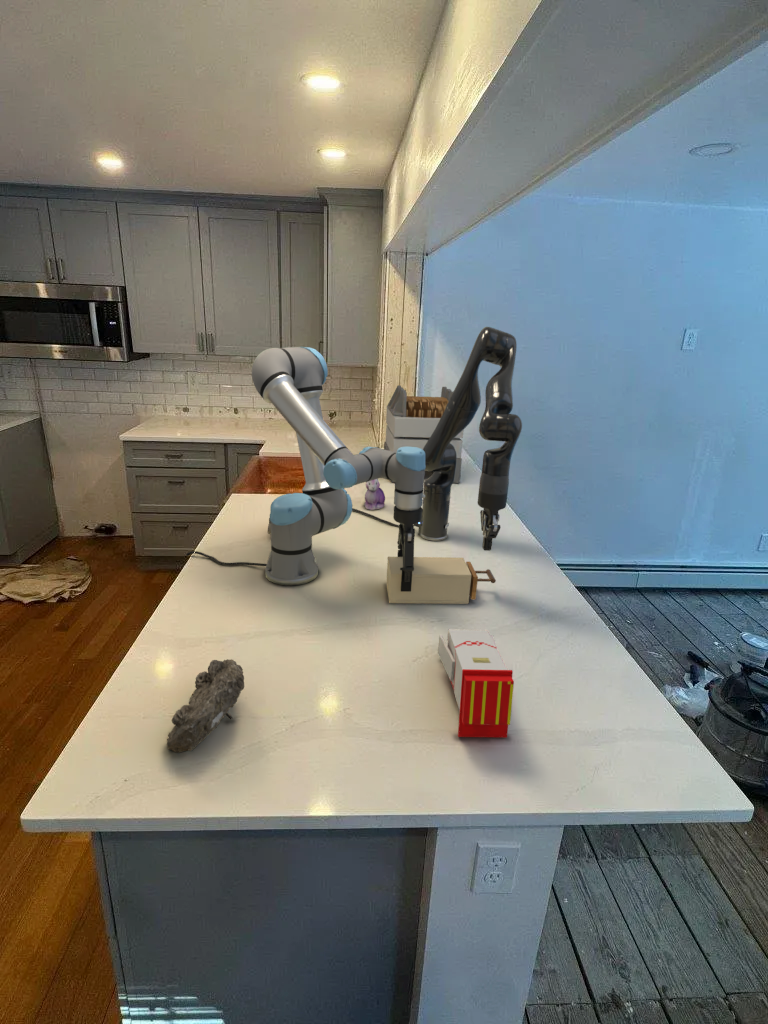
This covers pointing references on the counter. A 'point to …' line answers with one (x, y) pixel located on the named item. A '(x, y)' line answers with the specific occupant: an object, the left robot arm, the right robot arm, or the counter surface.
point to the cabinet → (430, 581)
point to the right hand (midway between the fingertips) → (486, 549)
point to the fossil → (206, 705)
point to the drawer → (475, 578)
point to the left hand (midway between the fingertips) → (403, 580)
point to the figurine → (374, 495)
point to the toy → (478, 682)
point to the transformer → (417, 422)
